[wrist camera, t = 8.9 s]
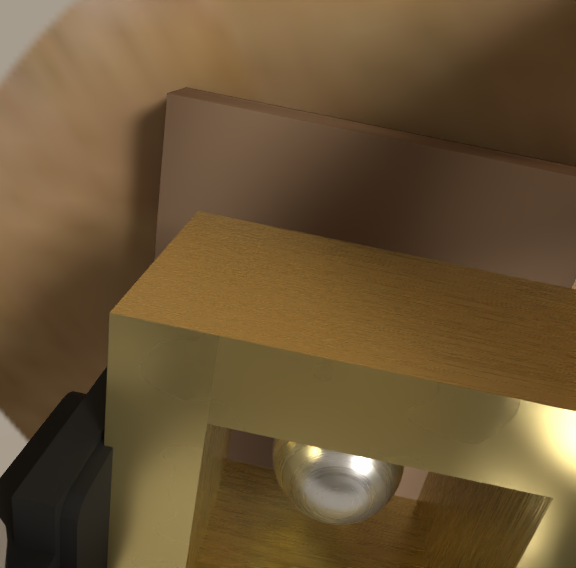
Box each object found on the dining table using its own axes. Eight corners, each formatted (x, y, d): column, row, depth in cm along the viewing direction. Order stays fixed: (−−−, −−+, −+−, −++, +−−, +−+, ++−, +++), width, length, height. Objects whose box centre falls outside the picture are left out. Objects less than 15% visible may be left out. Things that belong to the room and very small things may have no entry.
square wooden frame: (577, 289, 10) (712, 439, 6) (455, 551, 13) (498, 756, 9) (197, 211, 10) (109, 312, 6) (166, 487, 13) (95, 665, 9)
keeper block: (589, 169, 13) (827, 299, 7) (459, 474, 17) (526, 732, 11) (186, 87, 13) (31, 136, 7) (155, 409, 17) (44, 626, 11)
